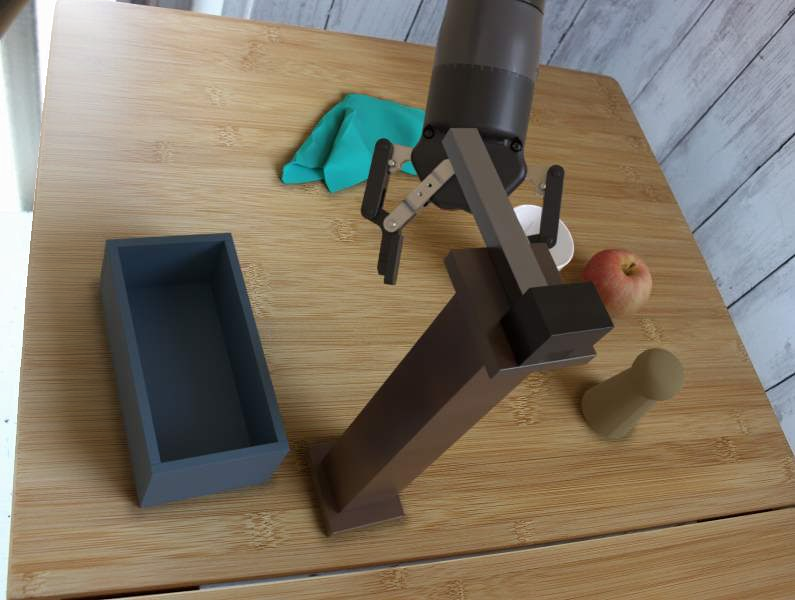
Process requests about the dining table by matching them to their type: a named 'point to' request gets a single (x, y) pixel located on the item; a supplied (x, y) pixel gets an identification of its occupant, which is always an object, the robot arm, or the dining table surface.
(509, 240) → the grey mallet
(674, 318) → the dining table surface
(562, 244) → the white cup
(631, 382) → the olive game pawn
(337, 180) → the cloth
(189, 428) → the bin
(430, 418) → the stand
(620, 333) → the dining table surface
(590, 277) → the apple
